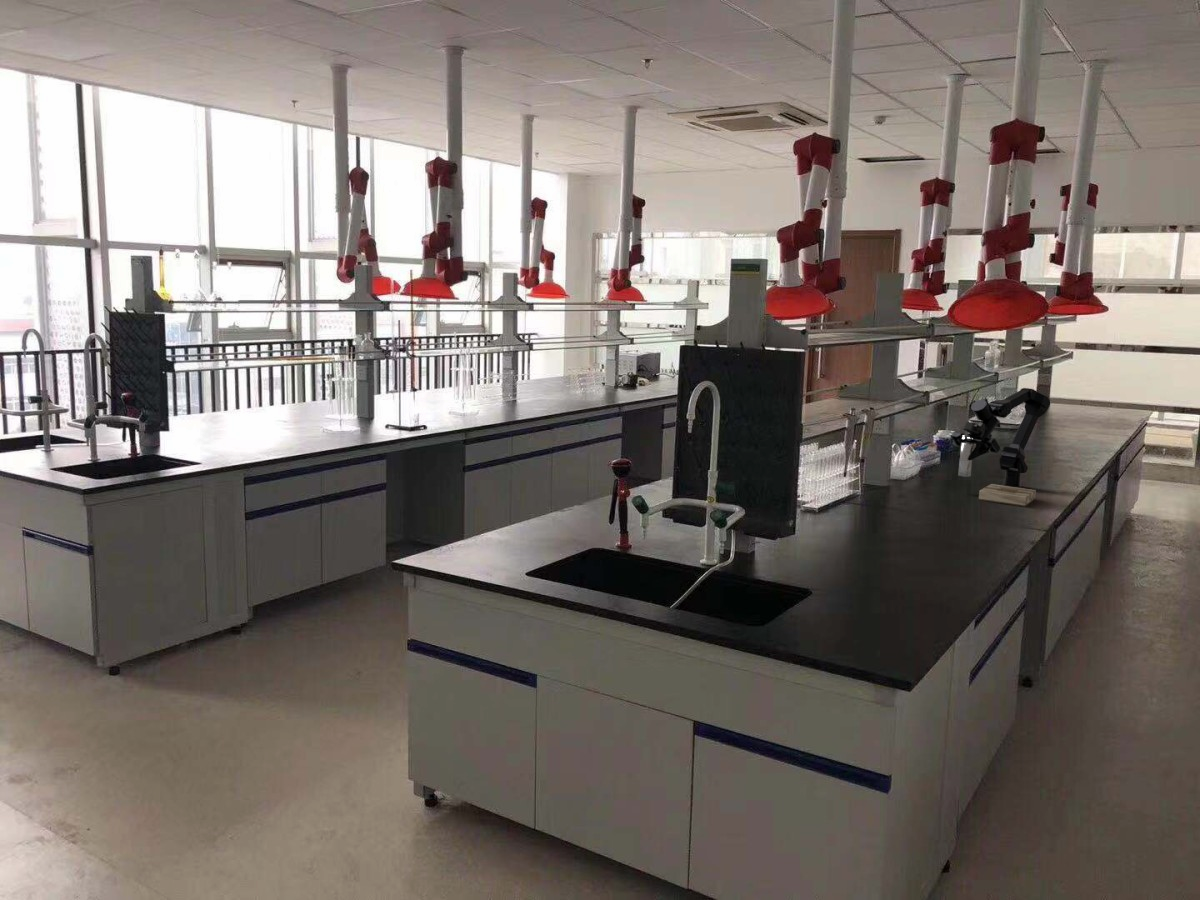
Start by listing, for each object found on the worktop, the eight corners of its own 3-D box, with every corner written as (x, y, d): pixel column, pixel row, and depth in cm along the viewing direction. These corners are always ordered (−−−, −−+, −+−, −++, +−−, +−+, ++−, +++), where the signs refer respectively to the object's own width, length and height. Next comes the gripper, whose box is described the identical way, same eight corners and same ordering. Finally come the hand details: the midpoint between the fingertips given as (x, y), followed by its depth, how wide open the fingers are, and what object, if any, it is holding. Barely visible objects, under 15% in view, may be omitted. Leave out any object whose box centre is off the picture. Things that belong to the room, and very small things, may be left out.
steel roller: (959, 473, 356) (961, 441, 354) (971, 475, 354) (974, 442, 352) (957, 475, 352) (960, 443, 350) (970, 477, 350) (972, 444, 348)
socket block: (990, 492, 355) (991, 483, 355) (1034, 499, 346) (1035, 490, 345) (978, 499, 343) (979, 490, 342) (1024, 506, 333) (1025, 497, 333)
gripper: (956, 411, 359) (934, 441, 355) (998, 417, 343) (976, 449, 340) (967, 429, 364) (946, 459, 361) (1009, 437, 349) (988, 468, 345)
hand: (963, 458), depth 351 cm, fingers closed on steel roller, 4 cm apart
